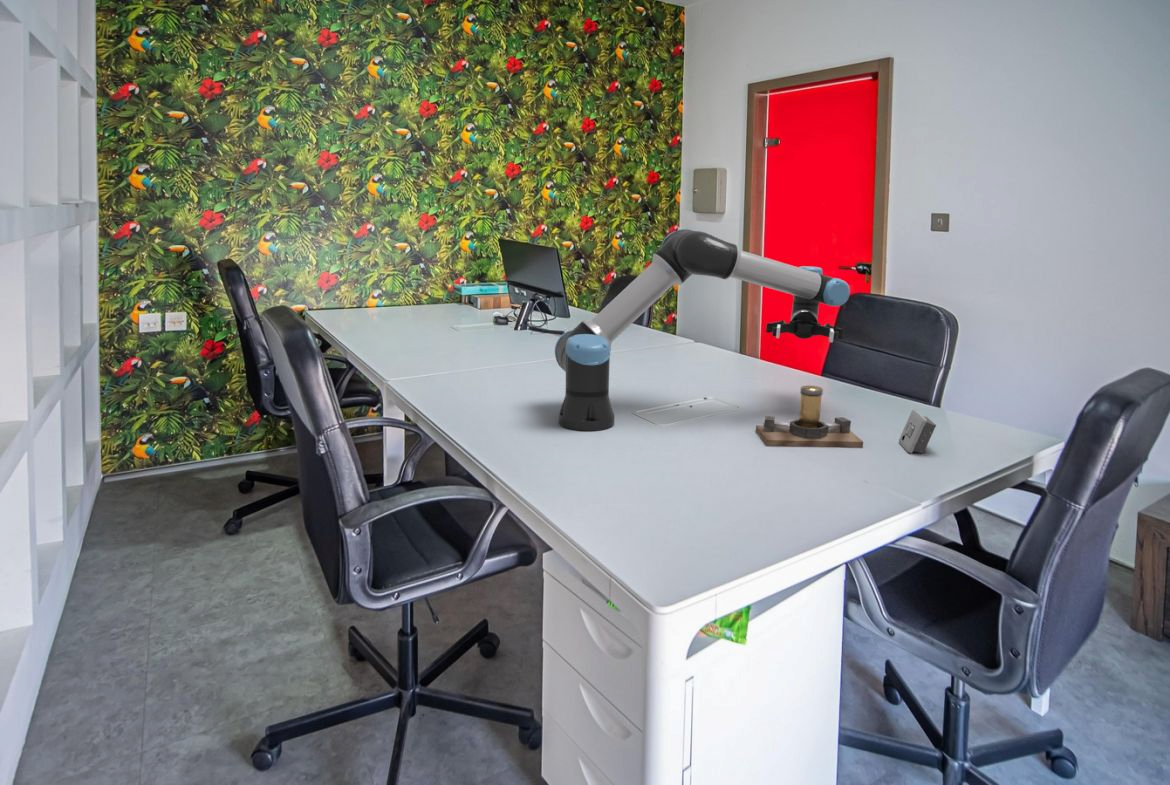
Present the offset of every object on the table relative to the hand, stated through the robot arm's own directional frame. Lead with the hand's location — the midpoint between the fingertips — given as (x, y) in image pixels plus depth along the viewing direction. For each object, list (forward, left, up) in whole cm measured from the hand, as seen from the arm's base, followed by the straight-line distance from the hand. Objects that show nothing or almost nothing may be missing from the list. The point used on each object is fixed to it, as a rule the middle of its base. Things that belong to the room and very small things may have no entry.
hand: (804, 335), depth 202 cm
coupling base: (+5, -7, -26) cm, 27 cm away
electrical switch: (+29, +2, -26) cm, 39 cm away
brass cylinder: (+5, -7, -24) cm, 26 cm away
